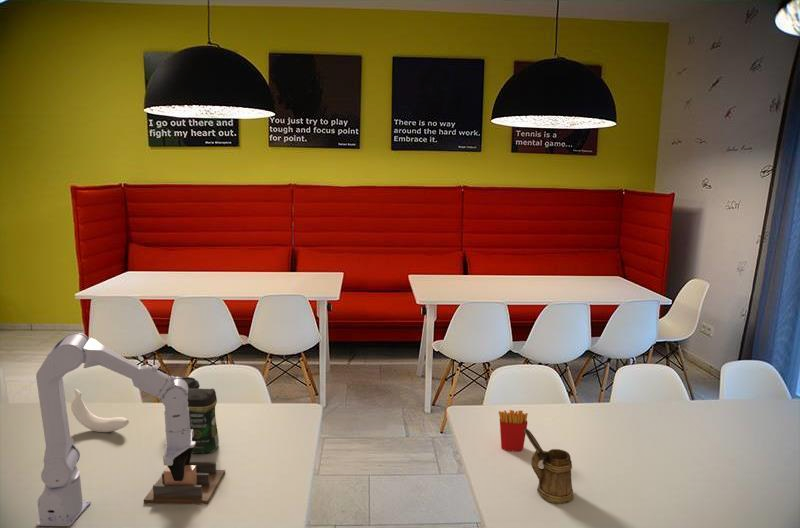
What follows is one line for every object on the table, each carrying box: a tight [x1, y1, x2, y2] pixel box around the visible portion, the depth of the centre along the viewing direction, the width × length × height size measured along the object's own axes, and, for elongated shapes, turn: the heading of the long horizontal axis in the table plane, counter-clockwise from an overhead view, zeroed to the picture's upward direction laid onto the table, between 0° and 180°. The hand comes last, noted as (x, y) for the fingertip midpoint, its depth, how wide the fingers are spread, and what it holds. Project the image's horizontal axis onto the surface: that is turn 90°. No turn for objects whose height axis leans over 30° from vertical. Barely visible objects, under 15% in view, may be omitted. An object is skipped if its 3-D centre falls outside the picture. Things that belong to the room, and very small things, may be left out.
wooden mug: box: [524, 428, 574, 505], centre depth 147 cm, size 9×14×18 cm, turn 86°
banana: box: [70, 388, 130, 433], centre depth 176 cm, size 5×19×15 cm, turn 84°
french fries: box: [498, 409, 529, 452], centre depth 170 cm, size 8×4×12 cm, turn 85°
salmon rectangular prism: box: [163, 465, 197, 485], centre depth 145 cm, size 3×7×5 cm, turn 90°
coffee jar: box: [187, 388, 220, 455], centre depth 167 cm, size 10×8×19 cm
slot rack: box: [143, 461, 226, 505], centre depth 148 cm, size 14×16×4 cm
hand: (181, 476), depth 145 cm, fingers closed on salmon rectangular prism, 3 cm apart
